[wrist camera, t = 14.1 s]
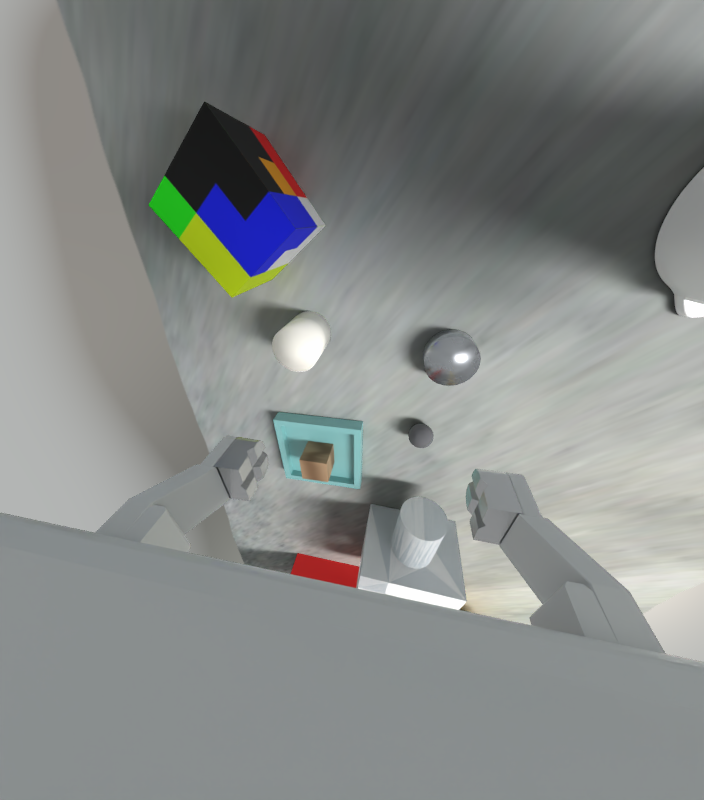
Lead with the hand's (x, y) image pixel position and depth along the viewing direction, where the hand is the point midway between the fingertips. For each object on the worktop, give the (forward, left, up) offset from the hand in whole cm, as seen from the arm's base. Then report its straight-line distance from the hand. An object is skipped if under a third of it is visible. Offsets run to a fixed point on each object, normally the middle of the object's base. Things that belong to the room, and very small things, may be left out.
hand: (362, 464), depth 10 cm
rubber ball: (-6, +22, -27) cm, 35 cm away
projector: (-7, +54, -30) cm, 62 cm away
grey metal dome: (-8, +8, -29) cm, 31 cm away
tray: (+12, +30, -29) cm, 43 cm away
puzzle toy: (+16, -8, -29) cm, 34 cm away
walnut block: (+12, +30, -28) cm, 43 cm away
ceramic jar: (+12, +6, -29) cm, 32 cm away
